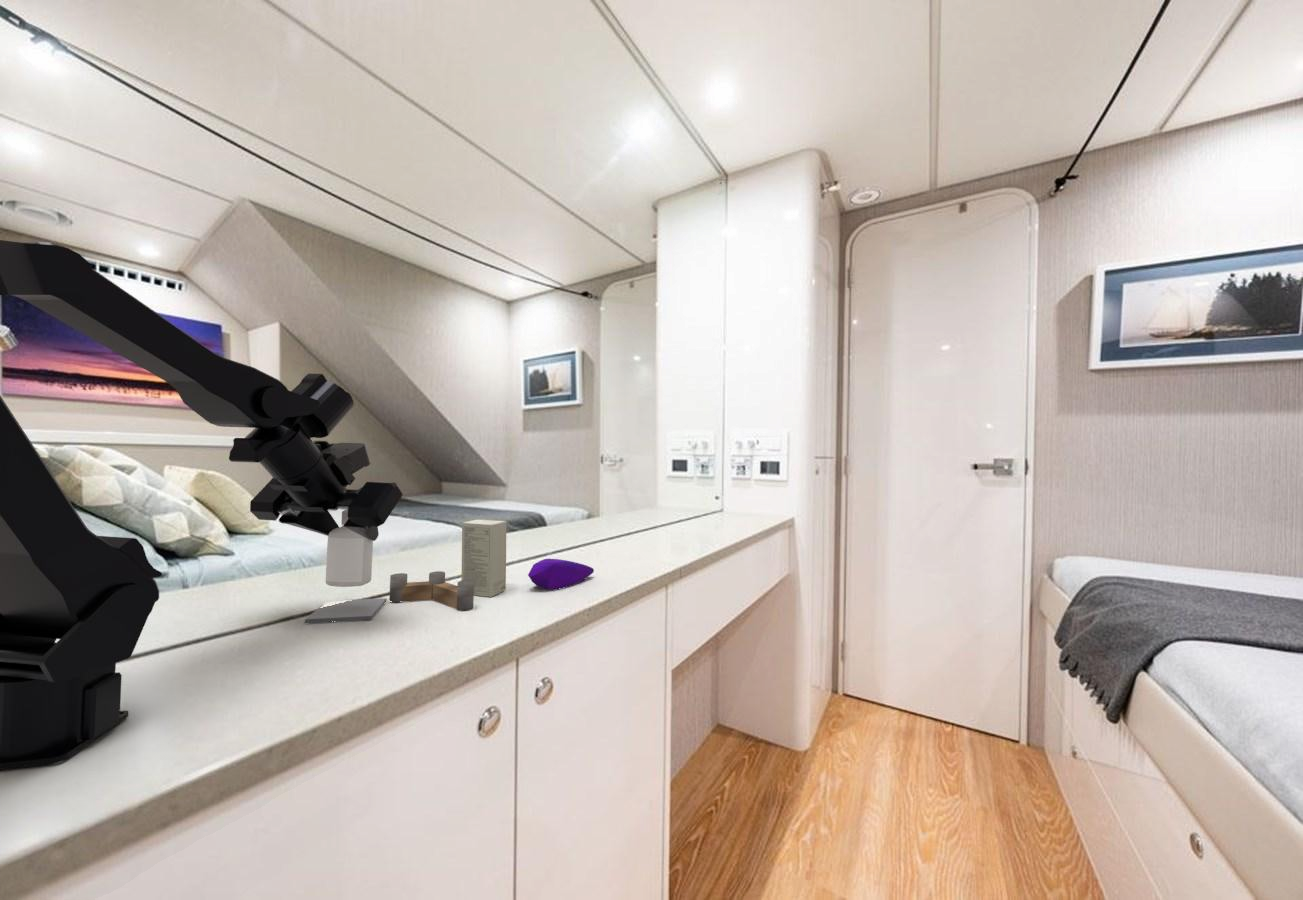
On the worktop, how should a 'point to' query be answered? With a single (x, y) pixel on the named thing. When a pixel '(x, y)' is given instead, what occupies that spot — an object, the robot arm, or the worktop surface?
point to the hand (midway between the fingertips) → (357, 536)
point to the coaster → (347, 611)
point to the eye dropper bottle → (348, 557)
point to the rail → (433, 590)
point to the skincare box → (484, 555)
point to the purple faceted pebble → (558, 573)
